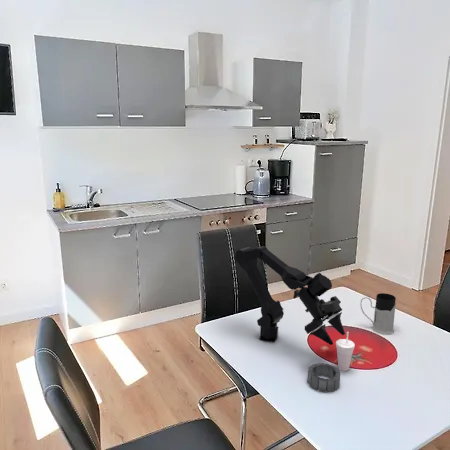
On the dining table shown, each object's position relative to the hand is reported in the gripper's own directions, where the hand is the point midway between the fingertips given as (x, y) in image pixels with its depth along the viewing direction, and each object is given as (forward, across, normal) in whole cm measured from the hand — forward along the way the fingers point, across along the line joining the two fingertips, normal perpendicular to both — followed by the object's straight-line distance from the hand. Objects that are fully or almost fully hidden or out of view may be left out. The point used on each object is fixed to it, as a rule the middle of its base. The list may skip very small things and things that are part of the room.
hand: (338, 339), depth 143 cm
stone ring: (+8, -12, +6) cm, 16 cm away
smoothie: (+9, 0, +6) cm, 11 cm away
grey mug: (+7, +37, +7) cm, 38 cm away
